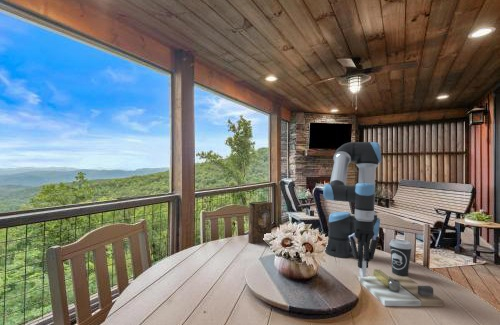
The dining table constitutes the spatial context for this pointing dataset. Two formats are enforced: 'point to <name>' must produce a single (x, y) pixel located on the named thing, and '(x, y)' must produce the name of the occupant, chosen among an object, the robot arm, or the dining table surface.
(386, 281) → the latch bar
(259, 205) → the book
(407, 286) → the door board
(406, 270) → the coffee cup
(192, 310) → the dining table surface
